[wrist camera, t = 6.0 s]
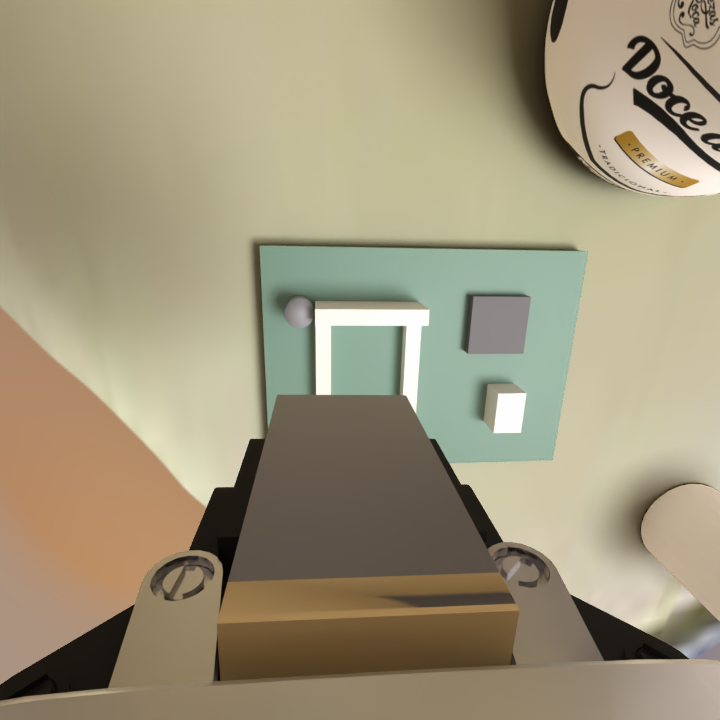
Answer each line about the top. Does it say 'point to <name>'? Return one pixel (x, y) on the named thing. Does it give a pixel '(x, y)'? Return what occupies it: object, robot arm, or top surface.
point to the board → (429, 337)
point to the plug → (358, 552)
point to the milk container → (639, 91)
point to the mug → (688, 539)
